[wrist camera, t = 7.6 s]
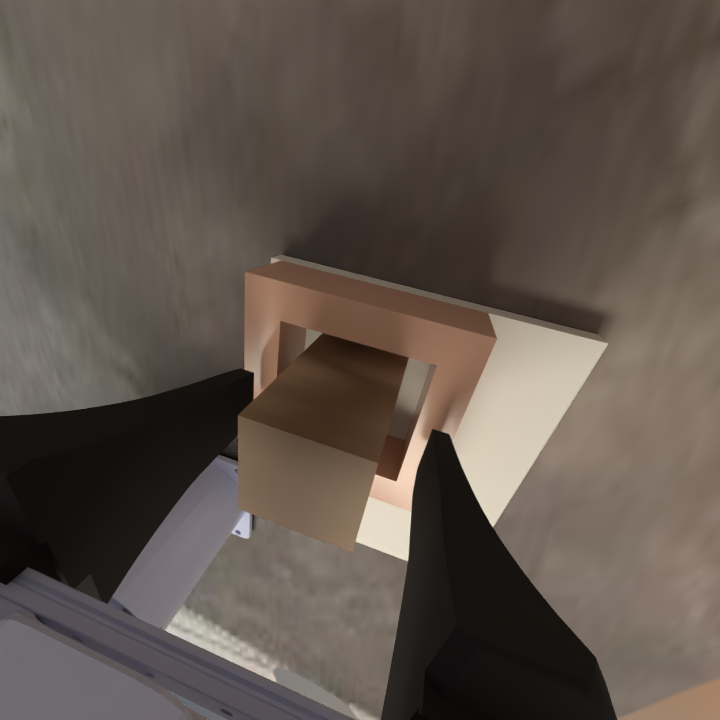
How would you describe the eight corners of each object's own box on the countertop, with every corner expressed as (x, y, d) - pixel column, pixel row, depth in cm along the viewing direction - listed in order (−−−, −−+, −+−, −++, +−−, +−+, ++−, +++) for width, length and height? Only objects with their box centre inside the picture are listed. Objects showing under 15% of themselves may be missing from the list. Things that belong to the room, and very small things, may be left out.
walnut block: (317, 397, 16) (238, 508, 10) (327, 328, 15) (238, 415, 8) (390, 420, 16) (351, 552, 10) (410, 352, 14) (378, 463, 8)
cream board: (267, 493, 23) (259, 504, 22) (282, 254, 15) (271, 257, 14) (458, 565, 21) (459, 581, 20) (597, 334, 13) (608, 343, 12)
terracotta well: (271, 418, 18) (243, 451, 16) (281, 260, 14) (244, 271, 11) (425, 470, 17) (420, 514, 14) (488, 313, 12) (497, 338, 10)
